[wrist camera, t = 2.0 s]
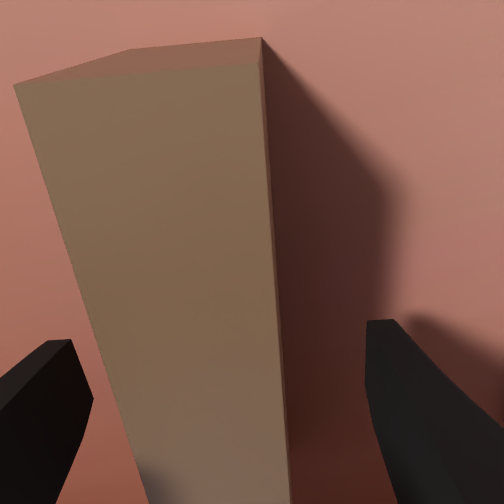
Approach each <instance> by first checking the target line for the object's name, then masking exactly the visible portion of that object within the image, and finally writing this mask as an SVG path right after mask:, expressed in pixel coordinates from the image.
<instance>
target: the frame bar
mask: <svg viewBox="0 0 504 504" xmlns="http://www.w3.org/2000/svg"><path fill="white" fill-rule="evenodd" d="M13 86H14V89H15V92H16V95H17V98H18V101H19V104H20V107H21V110H22V113H23V117H24V120H25V123H26V126H27V129H28V132H29V135H30V138H31V141H32V144H33V147H34V150H35V153H36V157H37V160H38V163H39V166H40V169H41V172H42V175H43V178H44V181H45V184H46V187H47V190H48V193H49V197H50V200H51V203H52V206H53V209H54V212H55V215H56V218H57V221H58V224H59V227H60V230H61V233H62V237H63V240H64V243H65V246H66V249H67V252H68V255H69V258H70V261H71V264H72V267H73V270H74V273H75V277H76V280H77V283H78V286H79V289H80V292H81V295H82V298H83V301H84V304H85V307H86V310H87V313H88V317H89V320H90V323H91V326H92V329H93V332H94V335H95V338H96V341H97V344H98V347H99V350H100V353H101V357H102V360H103V363H104V366H105V369H106V372H107V375H108V378H109V381H110V384H111V387H112V390H113V393H114V397H115V400H116V403H117V406H118V409H119V412H120V415H121V418H122V421H123V424H124V427H125V430H126V433H127V437H128V440H129V443H130V446H131V449H132V452H133V455H134V458H135V461H136V464H137V467H138V470H139V473H140V477H141V480H142V483H143V486H144V489H145V492H146V495H147V498H148V501H149V504H292V489H291V471H290V453H289V438H288V423H287V408H286V393H285V379H284V364H283V349H282V334H281V320H280V305H279V290H278V275H277V261H276V246H275V231H274V216H273V202H272V187H271V172H270V157H269V143H268V128H267V113H266V98H265V84H264V69H263V54H262V39H261V37H258V38H247V39H236V40H226V41H215V42H204V43H193V44H183V45H172V46H161V47H150V48H140V49H130V50H126V51H123V52H120V53H116V54H113V55H110V56H106V57H103V58H100V59H96V60H93V61H90V62H87V63H83V64H80V65H77V66H73V67H70V68H67V69H63V70H60V71H57V72H53V73H50V74H47V75H44V76H40V77H37V78H34V79H30V80H27V81H24V82H20V83H17V84H14V85H13Z"/></svg>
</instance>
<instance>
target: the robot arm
mask: <svg viewBox="0 0 504 504" xmlns="http://www.w3.org/2000/svg"><path fill="white" fill-rule="evenodd" d="M365 388H366V393H367V398H368V403H369V408H370V413H371V418H372V423H373V427H374V430H375V433H376V436H377V439H378V443H379V446H380V449H381V452H382V455H383V458H384V461H385V465H386V468H387V471H388V474H389V477H390V480H391V483H392V486H393V489H394V492H395V496H396V499H397V502H398V504H504V428H503V427H502V426H501V425H499V424H498V423H497V422H496V421H495V420H494V419H492V418H491V417H490V416H489V415H488V414H487V413H486V412H485V411H483V410H482V409H481V408H480V407H479V406H478V405H477V404H476V403H474V402H473V401H472V400H471V399H470V398H469V397H468V396H467V395H466V394H465V393H464V392H463V391H462V390H461V389H460V388H458V387H457V386H456V385H455V384H454V383H453V382H452V381H451V380H450V379H449V378H448V377H447V376H446V375H445V374H444V373H443V372H442V371H441V370H440V369H439V368H438V367H437V366H436V365H435V364H434V362H433V361H432V360H431V359H430V358H429V357H428V356H427V355H426V354H425V353H424V352H423V351H422V350H421V349H420V348H419V346H418V345H417V344H416V343H415V342H414V341H413V340H412V339H411V338H410V336H409V335H408V334H407V333H406V332H405V331H404V330H403V328H402V327H401V326H400V325H399V324H398V323H397V322H396V321H395V320H394V319H386V320H370V321H367V330H366V363H365ZM93 400H94V398H93V395H92V393H91V390H90V387H89V385H88V382H87V379H86V377H85V374H84V372H83V369H82V366H81V364H80V361H79V359H78V356H77V353H76V351H75V348H74V345H73V343H72V340H71V339H65V340H49V341H46V342H45V343H43V344H42V345H41V346H39V347H38V348H37V349H35V350H34V351H33V352H32V353H30V354H29V355H28V356H27V357H25V358H24V359H23V360H22V361H20V362H19V363H18V364H17V365H15V366H14V367H13V368H12V369H11V370H9V371H8V372H7V373H6V374H4V375H3V376H2V377H1V378H0V504H55V503H56V501H57V499H58V496H59V494H60V492H61V489H62V487H63V485H64V482H65V480H66V478H67V475H68V473H69V471H70V468H71V466H72V463H73V461H74V459H75V456H76V454H77V451H78V449H79V446H80V444H81V442H82V439H83V436H84V433H85V429H86V426H87V422H88V419H89V415H90V411H91V407H92V403H93Z"/></svg>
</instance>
